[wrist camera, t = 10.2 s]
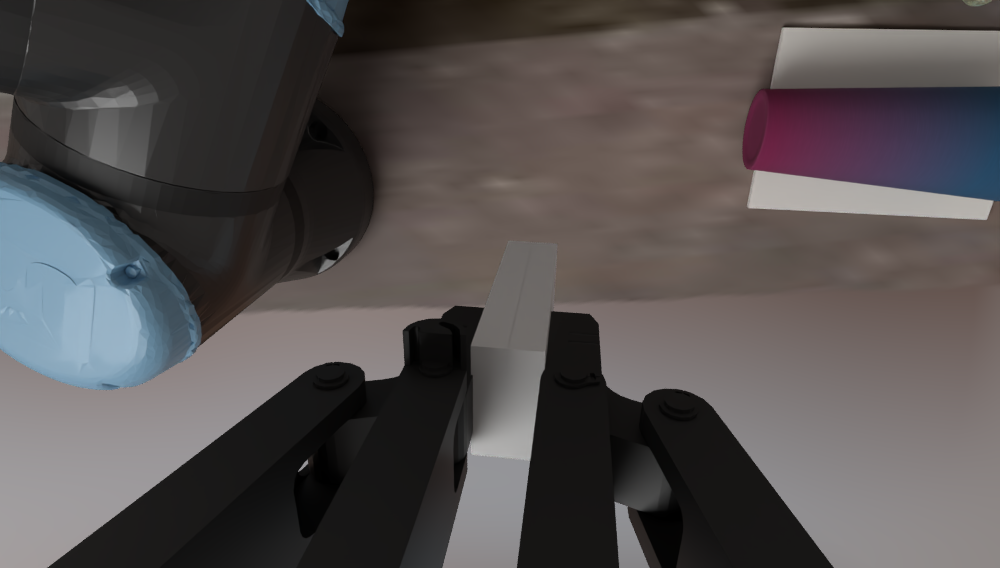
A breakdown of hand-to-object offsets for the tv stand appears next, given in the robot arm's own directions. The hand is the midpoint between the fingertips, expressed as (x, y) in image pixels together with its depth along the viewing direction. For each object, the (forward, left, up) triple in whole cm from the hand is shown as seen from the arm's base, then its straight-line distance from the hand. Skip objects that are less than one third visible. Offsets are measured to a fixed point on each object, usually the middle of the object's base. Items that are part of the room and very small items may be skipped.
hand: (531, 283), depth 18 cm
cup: (+12, +2, -23) cm, 26 cm away
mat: (+22, +2, -26) cm, 34 cm away
